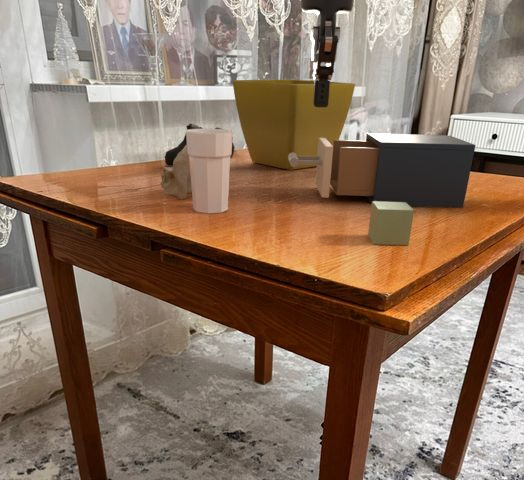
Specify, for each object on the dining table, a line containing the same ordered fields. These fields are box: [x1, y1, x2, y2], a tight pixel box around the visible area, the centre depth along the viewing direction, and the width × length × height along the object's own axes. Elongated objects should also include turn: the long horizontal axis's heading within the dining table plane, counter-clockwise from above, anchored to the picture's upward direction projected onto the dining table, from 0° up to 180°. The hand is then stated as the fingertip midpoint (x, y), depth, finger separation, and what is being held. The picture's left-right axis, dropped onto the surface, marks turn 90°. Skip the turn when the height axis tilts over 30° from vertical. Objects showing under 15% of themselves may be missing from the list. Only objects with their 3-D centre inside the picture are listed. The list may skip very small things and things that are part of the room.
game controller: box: [164, 123, 236, 167], centre depth 112 cm, size 16×7×10 cm, turn 43°
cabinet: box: [365, 132, 476, 209], centre depth 90 cm, size 15×13×10 cm
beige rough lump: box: [160, 144, 192, 200], centre depth 88 cm, size 9×6×10 cm
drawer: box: [288, 138, 379, 199], centre depth 90 cm, size 19×11×8 cm, turn 90°
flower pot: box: [232, 79, 356, 171], centre depth 118 cm, size 19×19×17 cm
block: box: [367, 201, 415, 246], centre depth 68 cm, size 4×4×4 cm
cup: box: [185, 128, 233, 214], centre depth 79 cm, size 7×7×11 cm
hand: (320, 106), depth 84 cm, fingers closed
